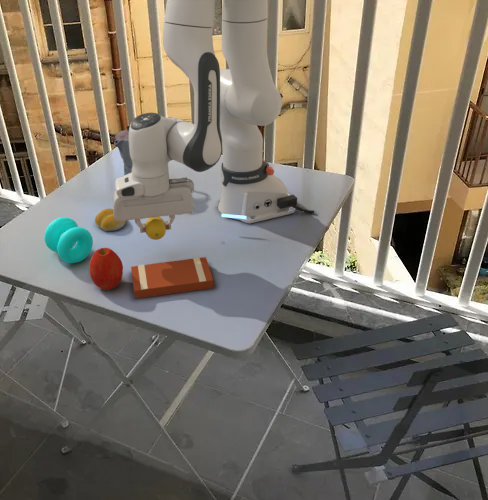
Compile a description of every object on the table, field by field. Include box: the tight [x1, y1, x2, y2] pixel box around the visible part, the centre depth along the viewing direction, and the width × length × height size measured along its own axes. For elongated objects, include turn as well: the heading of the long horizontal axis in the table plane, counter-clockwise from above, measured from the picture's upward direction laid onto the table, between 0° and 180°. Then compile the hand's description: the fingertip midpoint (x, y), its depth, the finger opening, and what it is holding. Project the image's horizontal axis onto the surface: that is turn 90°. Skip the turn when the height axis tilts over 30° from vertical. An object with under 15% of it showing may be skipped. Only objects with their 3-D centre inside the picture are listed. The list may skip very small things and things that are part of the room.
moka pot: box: [113, 125, 133, 176], centre depth 178 cm, size 10×15×20 cm, turn 139°
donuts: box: [43, 216, 94, 264], centre depth 148 cm, size 10×10×10 cm
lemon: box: [144, 216, 167, 241], centre depth 143 cm, size 7×5×5 cm
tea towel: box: [130, 256, 214, 299], centre depth 138 cm, size 19×10×2 cm, turn 97°
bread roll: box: [94, 208, 127, 232], centre depth 162 cm, size 8×9×4 cm
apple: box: [88, 247, 124, 291], centre depth 136 cm, size 8×8×11 cm
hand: (155, 230), depth 143 cm, fingers closed on lemon, 5 cm apart
